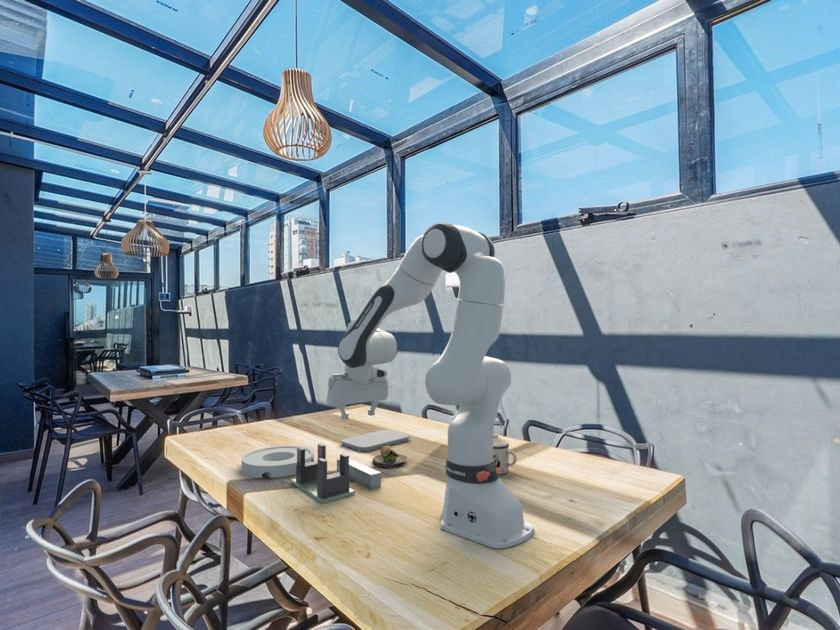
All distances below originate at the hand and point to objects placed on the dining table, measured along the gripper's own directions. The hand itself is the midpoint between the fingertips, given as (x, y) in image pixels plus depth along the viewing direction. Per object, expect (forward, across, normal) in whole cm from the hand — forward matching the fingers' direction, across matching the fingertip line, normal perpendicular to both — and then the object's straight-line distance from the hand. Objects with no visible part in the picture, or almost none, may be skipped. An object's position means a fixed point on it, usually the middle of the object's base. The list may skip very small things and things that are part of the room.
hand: (358, 417), depth 132 cm
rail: (+19, 0, -1) cm, 19 cm away
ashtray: (+20, -14, +27) cm, 37 cm away
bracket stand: (+19, -12, -1) cm, 22 cm away
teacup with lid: (+18, +39, -24) cm, 49 cm away
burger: (+20, +17, +6) cm, 26 cm away
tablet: (+20, +28, +31) cm, 46 cm away
